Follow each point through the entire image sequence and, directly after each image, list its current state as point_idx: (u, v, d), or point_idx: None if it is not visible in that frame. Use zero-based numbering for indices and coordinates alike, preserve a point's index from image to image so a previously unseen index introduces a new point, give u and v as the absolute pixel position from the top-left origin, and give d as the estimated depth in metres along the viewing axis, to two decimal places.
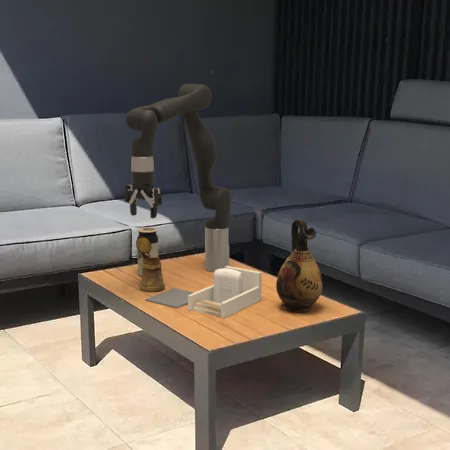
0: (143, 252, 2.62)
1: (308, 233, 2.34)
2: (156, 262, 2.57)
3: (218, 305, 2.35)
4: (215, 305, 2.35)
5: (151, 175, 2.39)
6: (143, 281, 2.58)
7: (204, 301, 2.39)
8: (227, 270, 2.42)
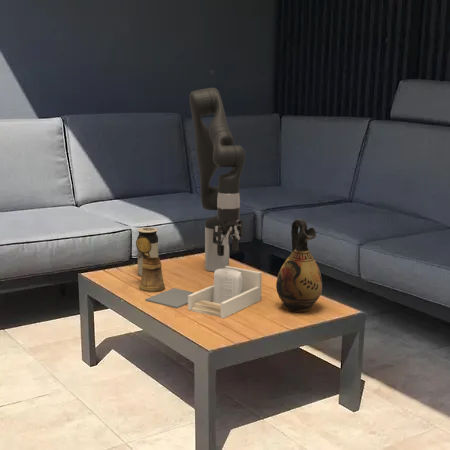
0: (143, 252, 2.62)
1: (308, 233, 2.34)
2: (156, 262, 2.57)
3: (217, 305, 2.35)
4: (214, 305, 2.35)
5: None
6: (143, 281, 2.58)
7: (203, 301, 2.39)
8: (227, 270, 2.42)
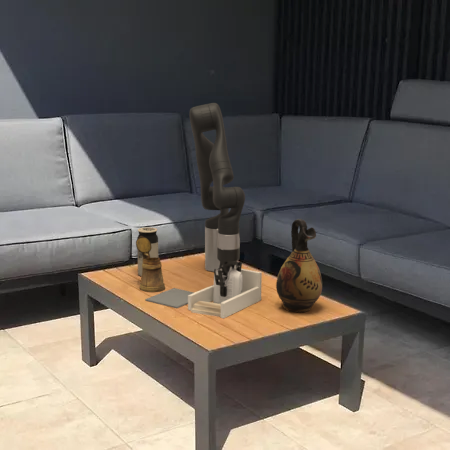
0: (143, 252, 2.62)
1: (308, 233, 2.34)
2: (156, 262, 2.57)
3: (217, 305, 2.35)
4: (214, 305, 2.35)
5: None
6: (143, 281, 2.58)
7: (201, 302, 2.38)
8: None
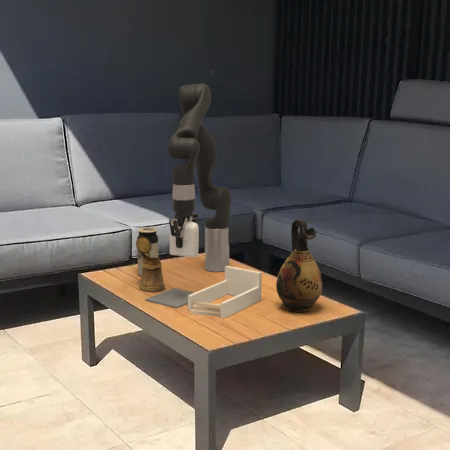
0: (143, 252, 2.62)
1: (308, 233, 2.34)
2: (156, 262, 2.57)
3: (216, 305, 2.35)
4: (214, 306, 2.35)
5: None
6: (143, 281, 2.58)
7: (199, 303, 2.37)
8: None
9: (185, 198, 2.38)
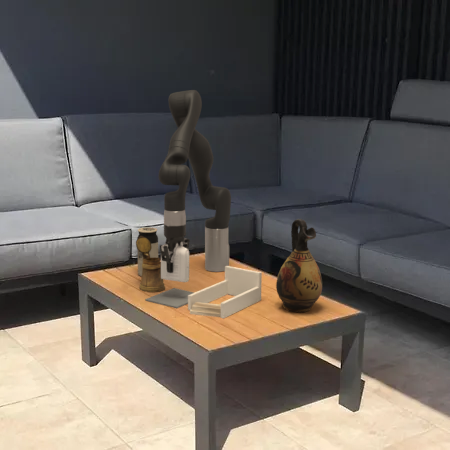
0: (143, 252, 2.62)
1: (308, 233, 2.34)
2: (156, 262, 2.57)
3: (216, 305, 2.35)
4: (213, 306, 2.34)
5: None
6: (143, 281, 2.58)
7: (199, 303, 2.37)
8: None
9: (176, 224, 2.41)
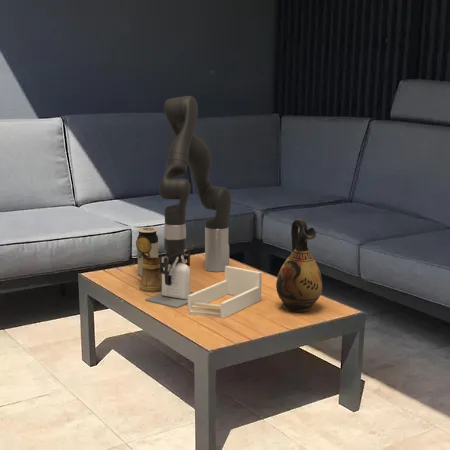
0: (143, 252, 2.62)
1: (308, 233, 2.34)
2: (156, 262, 2.57)
3: (215, 306, 2.35)
4: (212, 306, 2.34)
5: None
6: (143, 281, 2.58)
7: (198, 303, 2.37)
8: None
9: (176, 238, 2.42)
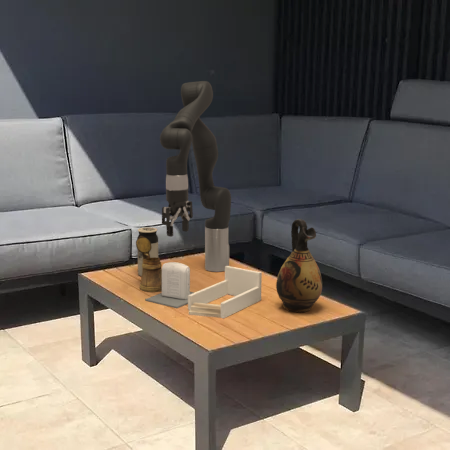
0: (143, 252, 2.62)
1: (308, 233, 2.34)
2: (156, 262, 2.57)
3: (214, 306, 2.34)
4: (212, 306, 2.34)
5: None
6: (143, 281, 2.58)
7: (197, 304, 2.36)
8: (174, 264, 2.47)
9: (178, 188, 2.40)
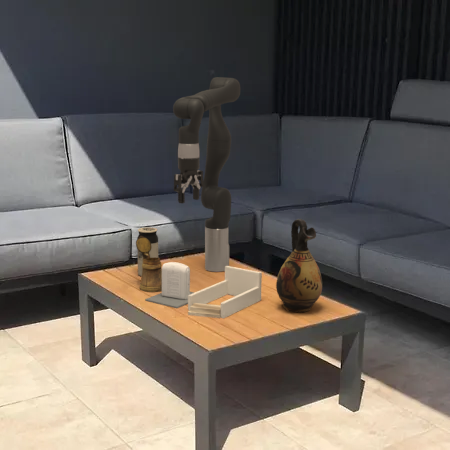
0: (143, 252, 2.62)
1: (308, 233, 2.34)
2: (156, 262, 2.57)
3: (214, 306, 2.34)
4: (211, 307, 2.34)
5: None
6: (143, 281, 2.58)
7: (197, 304, 2.36)
8: (174, 264, 2.47)
9: (190, 156, 2.49)
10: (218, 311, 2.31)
